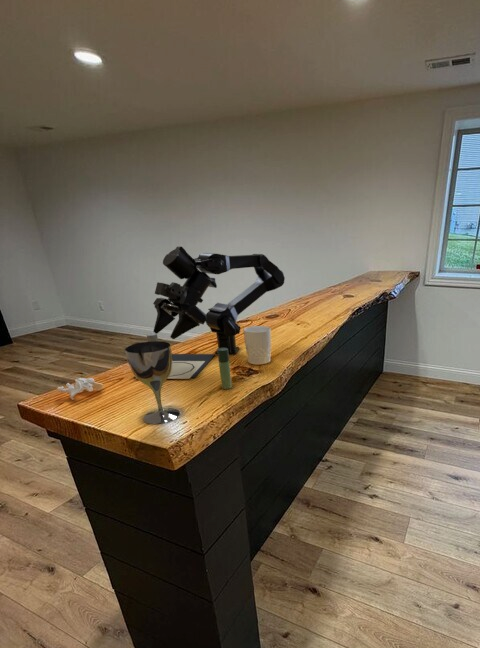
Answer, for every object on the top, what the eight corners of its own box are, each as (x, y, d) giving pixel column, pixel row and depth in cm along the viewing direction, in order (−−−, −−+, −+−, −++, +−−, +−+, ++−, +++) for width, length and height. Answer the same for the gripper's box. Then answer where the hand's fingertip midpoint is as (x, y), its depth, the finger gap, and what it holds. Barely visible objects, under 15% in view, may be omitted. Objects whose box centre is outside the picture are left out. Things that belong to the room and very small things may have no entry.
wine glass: (131, 420, 71) (114, 350, 65) (161, 404, 77) (148, 339, 72) (162, 428, 68) (148, 355, 62) (190, 410, 75) (179, 343, 69)
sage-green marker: (223, 385, 88) (218, 347, 84) (233, 385, 88) (229, 347, 84) (220, 389, 86) (215, 350, 82) (230, 389, 86) (226, 350, 82)
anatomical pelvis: (87, 371, 86) (103, 373, 83) (92, 387, 87) (108, 390, 84) (51, 382, 79) (68, 385, 76) (57, 399, 80) (74, 402, 78)
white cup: (267, 366, 101) (265, 333, 97) (241, 364, 102) (238, 331, 98) (275, 358, 108) (274, 326, 104) (252, 356, 110) (249, 325, 106)
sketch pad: (164, 354, 110) (164, 353, 110) (215, 355, 110) (214, 353, 110) (131, 379, 91) (131, 378, 91) (193, 379, 91) (193, 378, 91)
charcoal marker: (158, 367, 99) (151, 332, 95) (165, 368, 98) (158, 333, 94) (151, 369, 97) (144, 334, 93) (158, 371, 96) (151, 335, 92)
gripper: (153, 268, 98) (122, 313, 95) (190, 272, 88) (155, 323, 84) (183, 293, 107) (155, 335, 104) (220, 300, 96) (190, 347, 93)
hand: (163, 335), depth 96 cm, fingers open, 9 cm apart
